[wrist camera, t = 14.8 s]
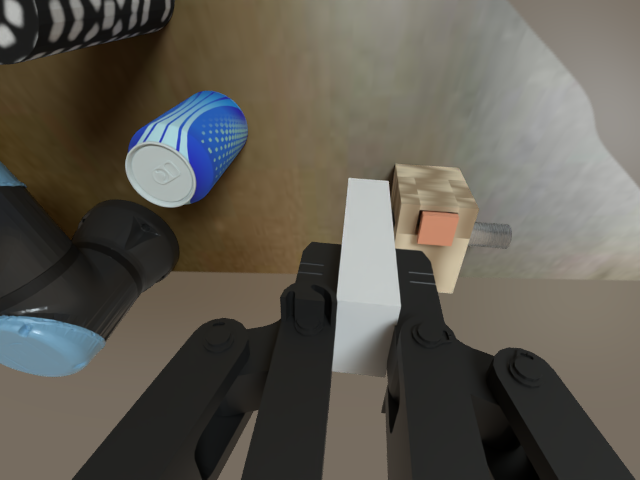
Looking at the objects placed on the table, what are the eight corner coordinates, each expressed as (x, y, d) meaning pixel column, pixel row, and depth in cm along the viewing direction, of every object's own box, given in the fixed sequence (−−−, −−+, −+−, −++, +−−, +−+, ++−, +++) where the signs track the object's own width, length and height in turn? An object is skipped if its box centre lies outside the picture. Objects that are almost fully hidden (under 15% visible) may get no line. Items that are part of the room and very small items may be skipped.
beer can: (249, 159, 49) (206, 223, 36) (187, 147, 49) (122, 207, 36) (252, 95, 44) (203, 141, 31) (183, 82, 44) (106, 123, 31)
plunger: (410, 207, 46) (417, 243, 40) (415, 181, 44) (423, 215, 37) (439, 209, 46) (451, 246, 39) (446, 183, 44) (459, 217, 37)
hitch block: (384, 239, 54) (387, 287, 46) (395, 163, 47) (401, 203, 39) (439, 243, 53) (452, 293, 45) (458, 167, 46) (479, 209, 38)
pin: (375, 231, 49) (376, 252, 45) (379, 201, 46) (380, 220, 43) (495, 241, 48) (506, 262, 44) (506, 210, 45) (518, 231, 41)
